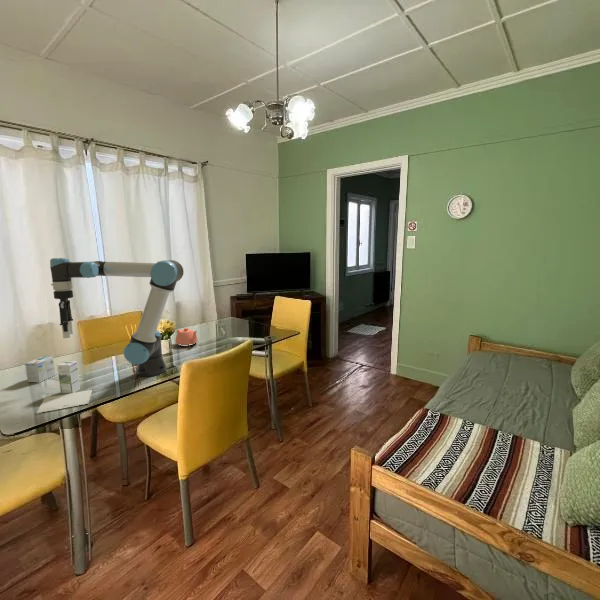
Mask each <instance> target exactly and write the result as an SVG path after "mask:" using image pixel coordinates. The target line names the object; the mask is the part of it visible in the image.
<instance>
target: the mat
mask: <svg viewBox="0 0 600 600" xmlns="http://www.w3.org/2000/svg"><path fill="white" fill-rule="evenodd" d="M92 393H93V390H92V389H88V390H83V391H78V392H77V391H76V392H75V393H70V394H59V395H58V394H57V395H52V396H48V397H47V396H46V397H44V399H43V401H42V402H41V404H40V406H39V407H38V409H37V411H36V412H35V414H36V415H40V414H39V413H41V414H43V413H42V412H46V411H51V410H54V409H53V408H54V407H60V406H61V405H62V406H64V405H68V404H69V406H70V404H71V406H72V405H74V406H75V405H76V406H78V407H80V406H79V405H84V406H86V405H85V404H88V405H89V403H90V399H91V396H92ZM46 413H47V412H46Z"/></svg>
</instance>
